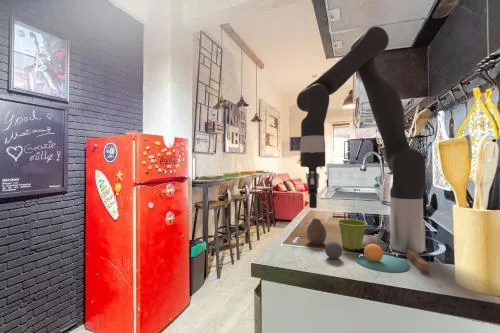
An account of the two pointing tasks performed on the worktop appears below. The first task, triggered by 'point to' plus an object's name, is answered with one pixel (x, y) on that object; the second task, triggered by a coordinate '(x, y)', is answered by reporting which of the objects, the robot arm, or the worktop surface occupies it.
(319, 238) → the brown oval solid
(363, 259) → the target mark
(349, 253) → the worktop surface
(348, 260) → the worktop surface
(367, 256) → the orange ball
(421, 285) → the worktop surface
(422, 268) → the rail
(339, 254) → the gray ball
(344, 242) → the plant pot
